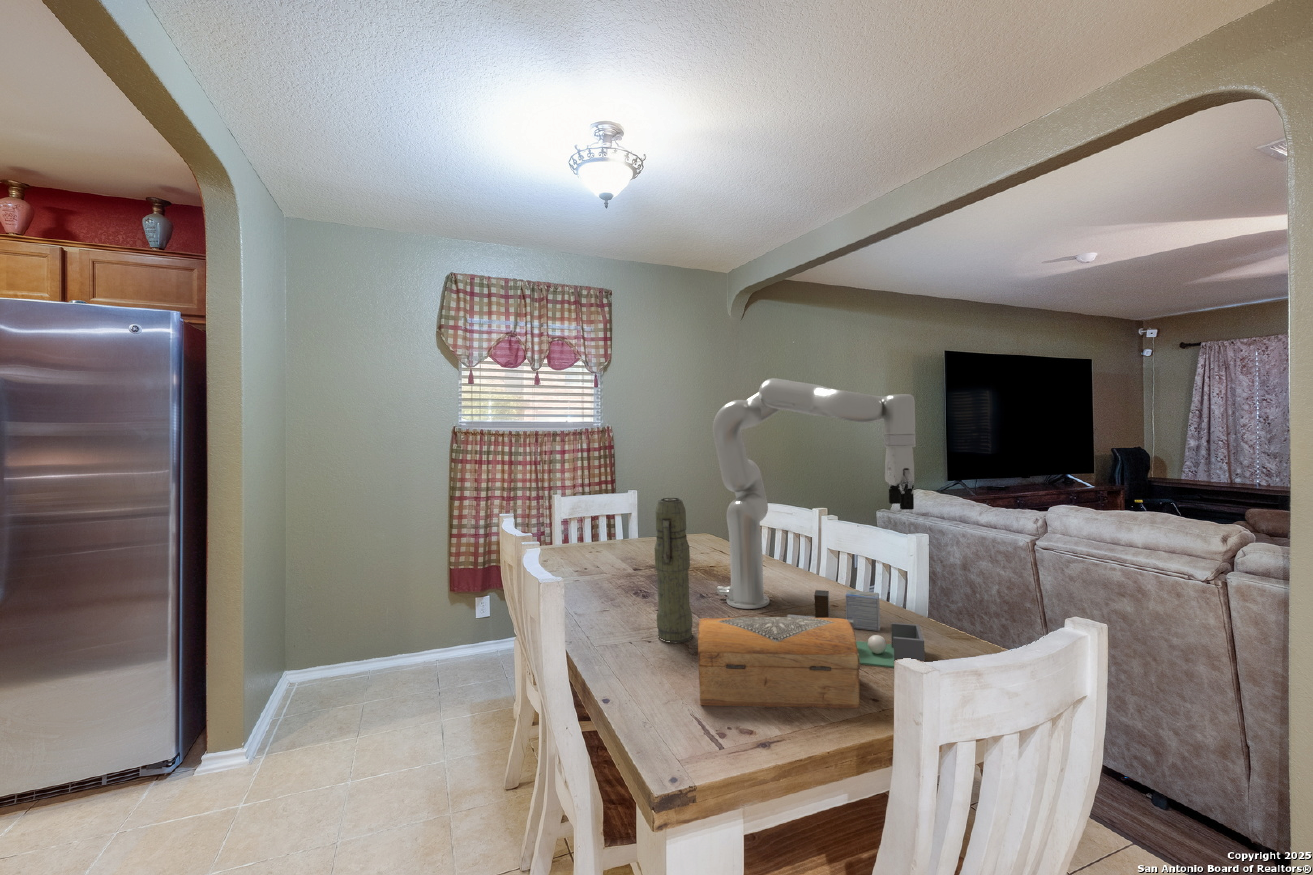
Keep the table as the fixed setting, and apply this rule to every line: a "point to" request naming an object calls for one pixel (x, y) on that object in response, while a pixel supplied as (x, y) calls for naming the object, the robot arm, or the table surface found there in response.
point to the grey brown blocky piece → (820, 606)
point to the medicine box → (863, 609)
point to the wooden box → (778, 662)
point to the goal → (907, 641)
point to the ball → (877, 644)
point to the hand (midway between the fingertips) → (901, 506)
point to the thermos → (672, 571)
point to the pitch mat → (875, 655)
